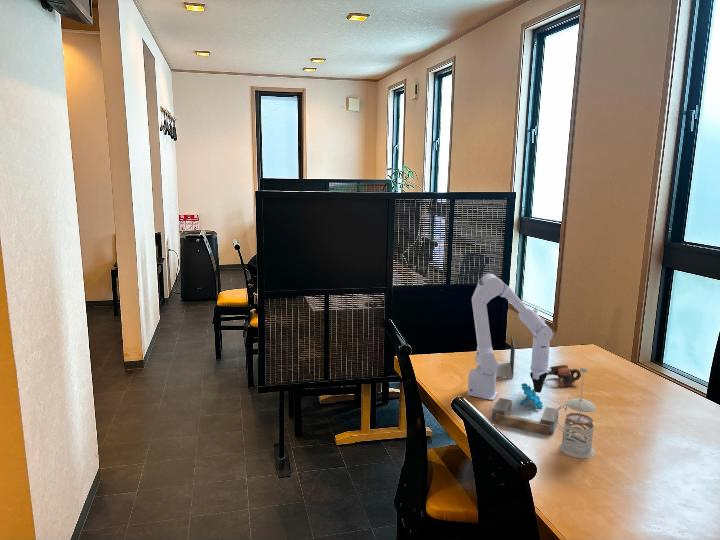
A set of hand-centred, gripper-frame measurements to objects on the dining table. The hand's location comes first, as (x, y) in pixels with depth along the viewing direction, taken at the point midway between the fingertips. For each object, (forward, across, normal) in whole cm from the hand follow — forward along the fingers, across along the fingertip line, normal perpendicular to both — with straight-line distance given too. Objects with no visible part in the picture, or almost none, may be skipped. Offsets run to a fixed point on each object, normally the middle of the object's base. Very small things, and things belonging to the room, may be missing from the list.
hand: (537, 391), depth 190 cm
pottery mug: (+2, +18, -7) cm, 19 cm away
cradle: (+1, -24, 0) cm, 24 cm away
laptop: (+2, +19, +20) cm, 28 cm away
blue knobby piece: (+2, -10, 0) cm, 10 cm away
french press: (+2, -35, -16) cm, 38 cm away
